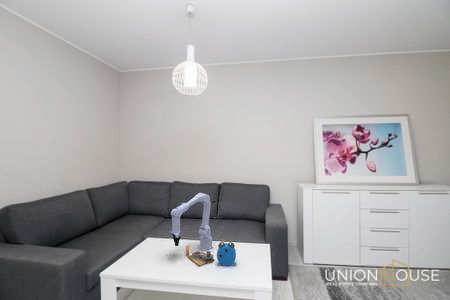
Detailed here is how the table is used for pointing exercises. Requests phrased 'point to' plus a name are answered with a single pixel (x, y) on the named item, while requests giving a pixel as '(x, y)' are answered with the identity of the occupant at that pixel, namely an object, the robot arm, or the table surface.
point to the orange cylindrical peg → (187, 250)
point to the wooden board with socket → (201, 258)
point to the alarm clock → (226, 253)
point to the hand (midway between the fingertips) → (176, 243)
